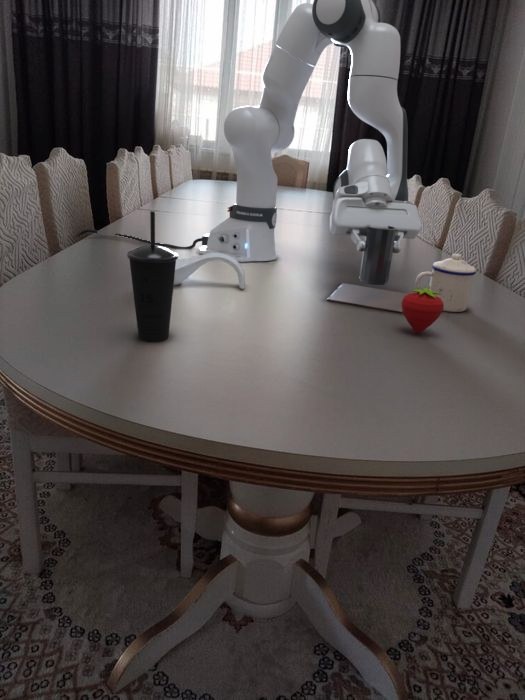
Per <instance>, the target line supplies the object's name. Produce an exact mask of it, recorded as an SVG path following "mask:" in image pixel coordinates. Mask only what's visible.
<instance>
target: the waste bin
mask: <svg viewBox="0 0 525 700" xmlns="http://www.w3.org/2000/svg"><path fill="white" fill-rule="evenodd" d="M388 228H389V229H380V228H374V227H370V225H367V226H366V233H365V236H364V240H363V241H365V243H366V244H365V245H366V249H365V251H362V254H361V262H360V268H359V276H358V280H359V281H360V282H361V283H363V284H367V285H372V286H385V285H388V284H389V280H390V274H391V269H392V263H393V257H394V253H393V251H394V245H395V242H396V241H395V239H396V233H397V228H396V227H392V226H388Z"/></svg>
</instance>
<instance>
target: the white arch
mask: <svg viewBox="0 0 525 700" xmlns="http://www.w3.org/2000/svg"><path fill="white" fill-rule="evenodd" d="M214 261H220V262H223V263H226V264H228V265H229V266H231V267H232V268H233V269H234V270H235V272H236V274H237V278H238V285H239V288H240V289H241V290H244V289H245V287H246V275H245V271H244V268H243V266H242V265H241V264H240V262H239V261H236V260H235V259H234V258H232V257H230V256H228V255H225V254H222V253H208V254H200V255H195V256H192V257H187V258H186V257H185V258H178V259H177V260H176V266H175V276H174V286H178V285H180V284H183V282H184V281H185V280H187V279H188V278H189V277H190V276H191V275H192V274H193V273H194V272H196V271H197V270H199V268H201V267H202V266H204V265H206V264H207V263H209V262H214Z"/></svg>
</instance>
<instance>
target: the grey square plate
mask: <svg viewBox="0 0 525 700" xmlns="http://www.w3.org/2000/svg"><path fill="white" fill-rule="evenodd" d="M408 294H409V293H407V292H401V291H393V290H388V289H381V288H375V287H369V286H363V285H362V286H361V285H356V284H350V283H341V284H340V285H339V286H338V287H337V289H335V290H334V291H333V293H332V294H331V295H330V296H328V298H327V299H326V301H327V302H332V303H338V304H344V305H350V306H354V307H355V306H356V307H362V308H367V309H373V310H380V311H384V312H391V313H397V314H403V311H402V304H401V303H402V300H403V298H404V297H405V296H406V295H408Z"/></svg>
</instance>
